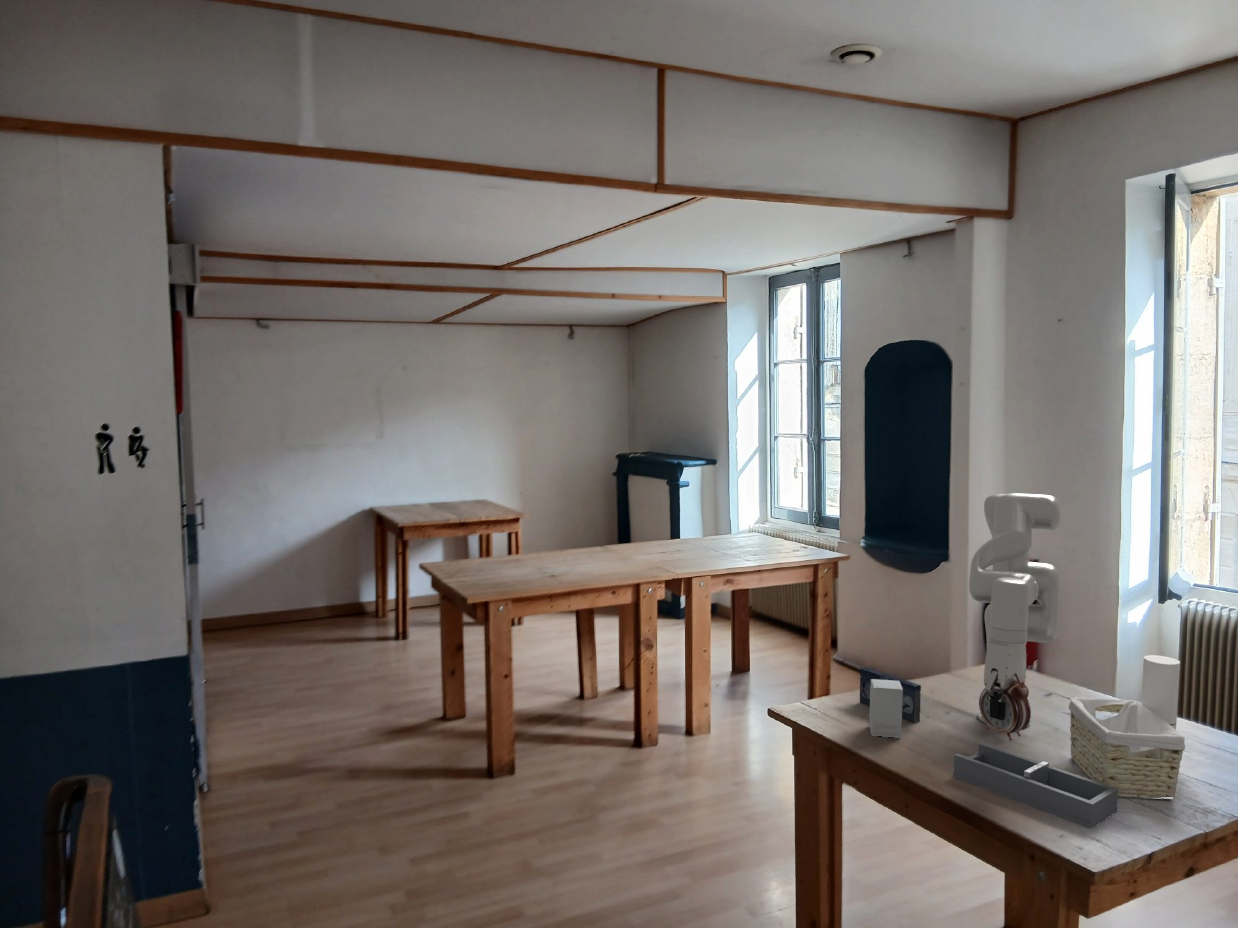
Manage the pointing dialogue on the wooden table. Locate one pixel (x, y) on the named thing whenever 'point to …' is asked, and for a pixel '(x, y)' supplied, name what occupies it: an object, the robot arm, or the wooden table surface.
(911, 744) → the wooden table surface
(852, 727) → the wooden table surface
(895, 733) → the supplement box
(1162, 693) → the cylindrical container
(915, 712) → the vhs cassette tape
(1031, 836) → the wooden table surface
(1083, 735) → the storage basket
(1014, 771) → the tray
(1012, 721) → the alarm clock
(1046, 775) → the pusher plate
